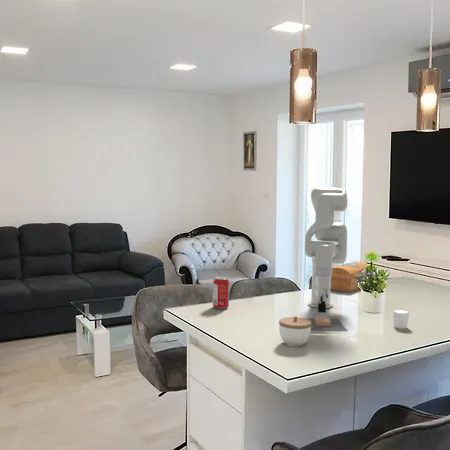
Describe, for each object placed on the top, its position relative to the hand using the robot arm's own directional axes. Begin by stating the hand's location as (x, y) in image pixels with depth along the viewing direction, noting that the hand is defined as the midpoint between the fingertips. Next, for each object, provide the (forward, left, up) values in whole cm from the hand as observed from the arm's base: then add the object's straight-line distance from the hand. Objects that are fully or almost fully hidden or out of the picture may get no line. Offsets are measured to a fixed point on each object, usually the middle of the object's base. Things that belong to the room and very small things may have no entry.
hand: (321, 312), depth 249 cm
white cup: (+2, +35, -6) cm, 36 cm away
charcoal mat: (+3, 0, -5) cm, 6 cm away
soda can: (-26, -45, -6) cm, 52 cm away
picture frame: (-2, 0, -4) cm, 4 cm away
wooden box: (-85, +32, -6) cm, 91 cm away
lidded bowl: (+30, -16, -6) cm, 34 cm away
